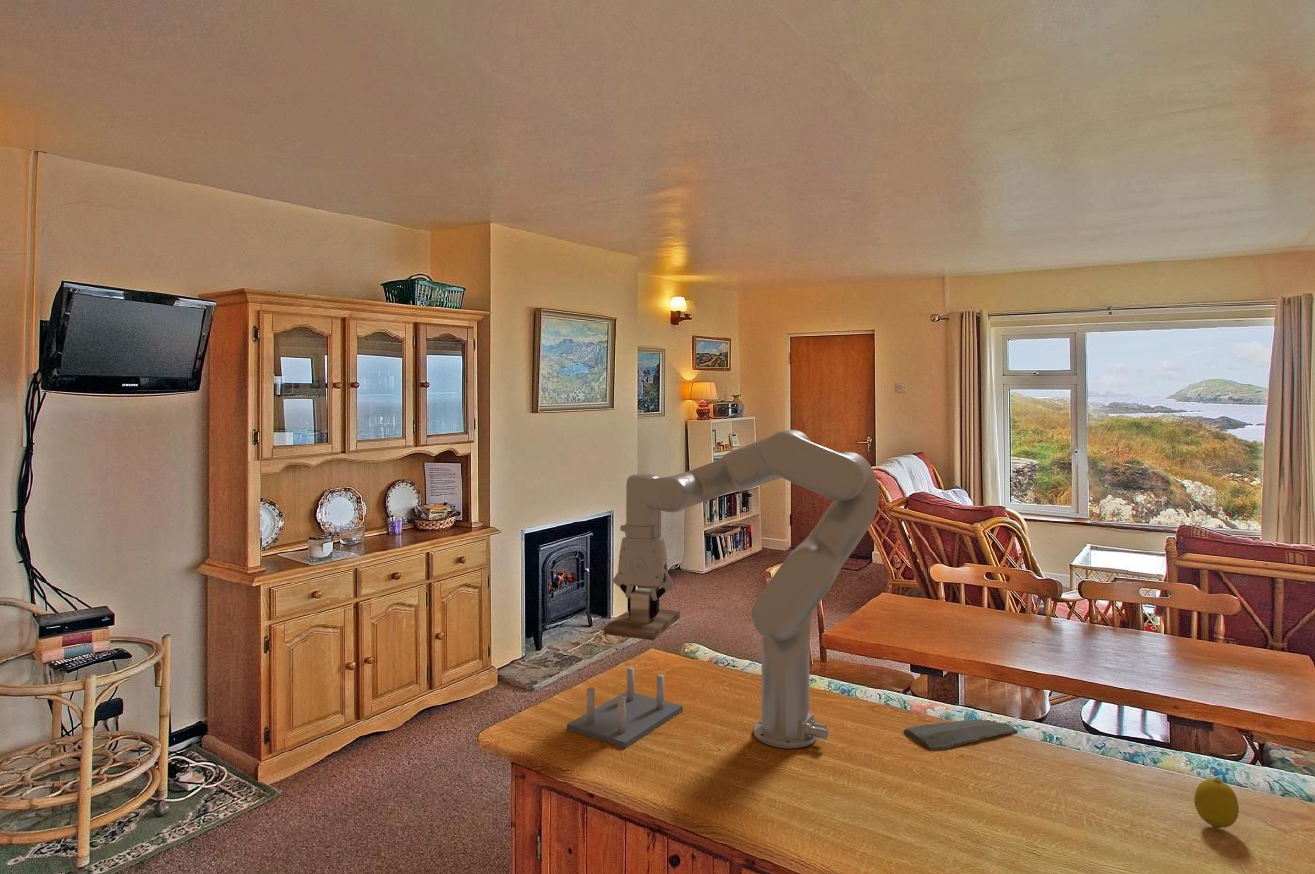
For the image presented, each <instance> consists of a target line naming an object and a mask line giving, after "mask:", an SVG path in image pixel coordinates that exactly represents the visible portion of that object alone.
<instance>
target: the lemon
mask: <svg viewBox="0 0 1315 874" xmlns="http://www.w3.org/2000/svg"><path fill="white" fill-rule="evenodd" d="M1193 799H1194V807H1195V809H1196V812H1197V814H1198V815H1199V817H1200V818H1201V819H1202V820H1203V821H1204V822H1205V823H1207V825H1210V826H1211V827H1212V828H1213V829H1215V830H1220V829H1221V828H1229V827H1231V826H1233V824H1235V823H1236V821H1237V819H1238V816H1239V812H1240V811H1239V810H1240V809H1239V808H1240V807H1239V802H1238V801H1239V800H1238V798H1237V795H1236V793H1235V790H1233V789H1232V788H1231V787H1230V786H1229V785H1228V784H1227V783H1225V782H1223V781H1221V779H1219V778H1213V779H1212V778H1210V779H1205V780H1203V781H1202V782H1200V783H1199V784H1198V785H1197V787H1196V790H1195V792H1194V797H1193Z"/></svg>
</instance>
